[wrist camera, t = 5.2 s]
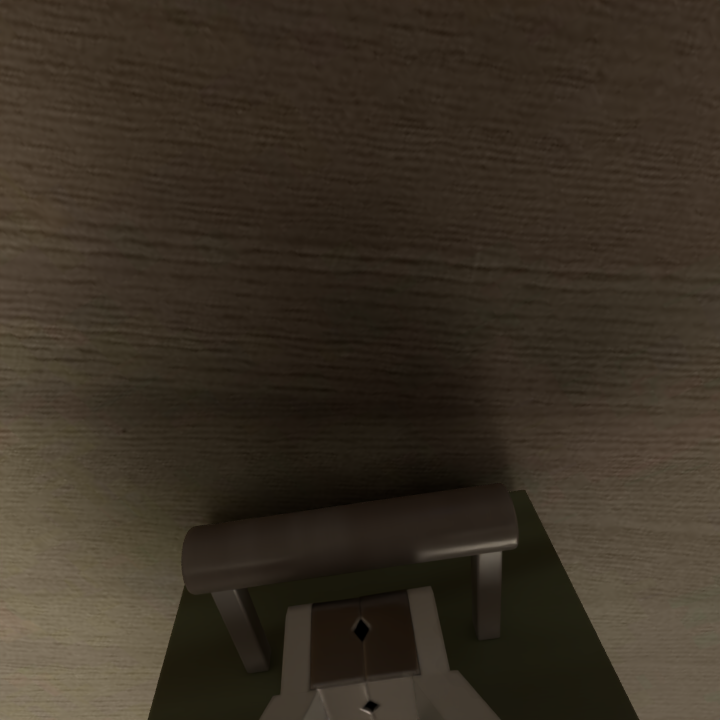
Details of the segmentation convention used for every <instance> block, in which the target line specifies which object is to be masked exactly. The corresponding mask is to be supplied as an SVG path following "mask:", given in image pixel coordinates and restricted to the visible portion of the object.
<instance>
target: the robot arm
mask: <svg viewBox="0 0 720 720" xmlns="http://www.w3.org/2000/svg"><path fill="white" fill-rule="evenodd" d="M259 720H501V719H500V718H499V717H498V716H497V715H496V714H495V712H494V711H493V710H492V709H491V708H490V707H489V706H488V704H487V703H486V702H485V701H484V700H483V699H482V697H481V696H480V695H479V694H478V693H477V692H476V691H475V689H474V688H473V687H472V686H471V685H470V684H469V682H468V681H467V680H466V679H465V678H464V677H463V676H462V674H461V673H460V672H459V671H458V670H451V671H450V668H449V663H448V658H447V654H446V649H445V644H444V640H443V635H442V631H441V626H440V621H439V617H438V612H437V607H436V603H435V598H434V593H433V590H432V588H431V586H426V587H419V588H413V589H408V590H407V591H406V589H403V590H396V591H390V592H384V593H378V594H372V595H366V596H360V597H355V598H348V599H341V600H334V601H327V602H320V603H309V604H303V605H296V606H290V607H288V610H287V614H286V621H285V636H284V650H283V664H282V679H281V693H280V695H276V696H273V697H272V699H271V700H270V702H269V704H268V705H267V707H266V709H265V710H264V712H263V714H262V715H261V717H260V719H259Z"/></svg>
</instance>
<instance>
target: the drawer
mask: <svg viewBox="0 0 720 720" xmlns="http://www.w3.org/2000/svg"><path fill="white" fill-rule="evenodd" d="M182 574H183V579H184V583H185V586H184V590H183V593H182V597H181V600H180V604H179V608H178V611H177V615H176V619H175V622H174V626H173V630H172V633H171V637H170V640H169V644H168V648H167V651H166V655H165V659H164V662H163V666H162V670H161V673H160V677H159V680H158V684H157V688H156V691H155V695H154V699H153V702H152V706H151V710H150V713H149V717H148V720H259V719H260V717H261V715H262V714H263V712H264V710H265V709H266V707H267V705H268V704H269V702H270V700H271V699H272V697H273V696H276V695H280V693H281V679H282V664H283V650H284V636H285V621H286V614H287V610H288V607H290V606H296V605H303V604H309V603H320V602H327V601H334V600H341V599H348V598H355V597H360V596H366V595H372V594H378V593H384V592H390V591H396V590H403V589H406V591H407V590H408V589H413V588H419V587H426V586H431V588H432V590H433V593H434V598H435V603H436V607H437V612H438V617H439V621H440V626H441V631H442V635H443V640H444V644H445V649H446V654H447V658H448V663H449V668H450V671H451V670H458V671H459V672H460V673H461V674H462V676H463V677H464V678H465V679H466V680H467V681H468V682H469V684H470V685H471V686H472V687H473V688H474V689H475V691H476V692H477V693H478V694H479V695H480V696H481V697H482V699H483V700H484V701H485V702H486V703H487V704H488V706H489V707H490V708H491V709H492V710H493V711H494V712H495V714H496V715H497V716H498V717H499V718H500V719H501V720H639V718H638V716H637V714H636V712H635V710H634V708H633V706H632V704H631V702H630V700H629V698H628V696H627V694H626V692H625V690H624V688H623V686H622V684H621V682H620V680H619V678H618V676H617V674H616V672H615V670H614V668H613V666H612V664H611V662H610V660H609V658H608V656H607V654H606V652H605V650H604V648H603V646H602V644H601V642H600V640H599V638H598V636H597V634H596V632H595V630H594V628H593V626H592V624H591V622H590V620H589V618H588V616H587V614H586V612H585V610H584V607H583V605H582V603H581V601H580V599H579V597H578V595H577V593H576V591H575V589H574V587H573V585H572V583H571V581H570V579H569V577H568V575H567V573H566V571H565V569H564V567H563V565H562V563H561V561H560V559H559V557H558V555H557V553H556V551H555V549H554V547H553V545H552V543H551V541H550V539H549V537H548V535H547V533H546V531H545V529H544V527H543V525H542V523H541V521H540V519H539V517H538V515H537V513H536V511H535V509H534V507H533V505H532V503H531V501H530V499H529V497H528V495H527V493H526V491H525V490H518V491H511V492H508V490H507V489H506V487H505V486H504V485H503V484H502V483H494V484H487V485H480V486H473V487H466V488H459V489H452V490H445V491H438V492H431V493H424V494H417V495H410V496H403V497H396V498H389V499H382V500H376V501H369V502H362V503H355V504H348V505H341V506H334V507H327V508H320V509H313V510H306V511H299V512H292V513H285V514H278V515H271V516H264V517H258V518H251V519H244V520H237V521H230V522H223V523H216V524H209V525H202V526H195V527H193V528H191V529H190V530H189V531H188V532H187V534H186V536H185V539H184V543H183V548H182Z"/></svg>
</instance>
